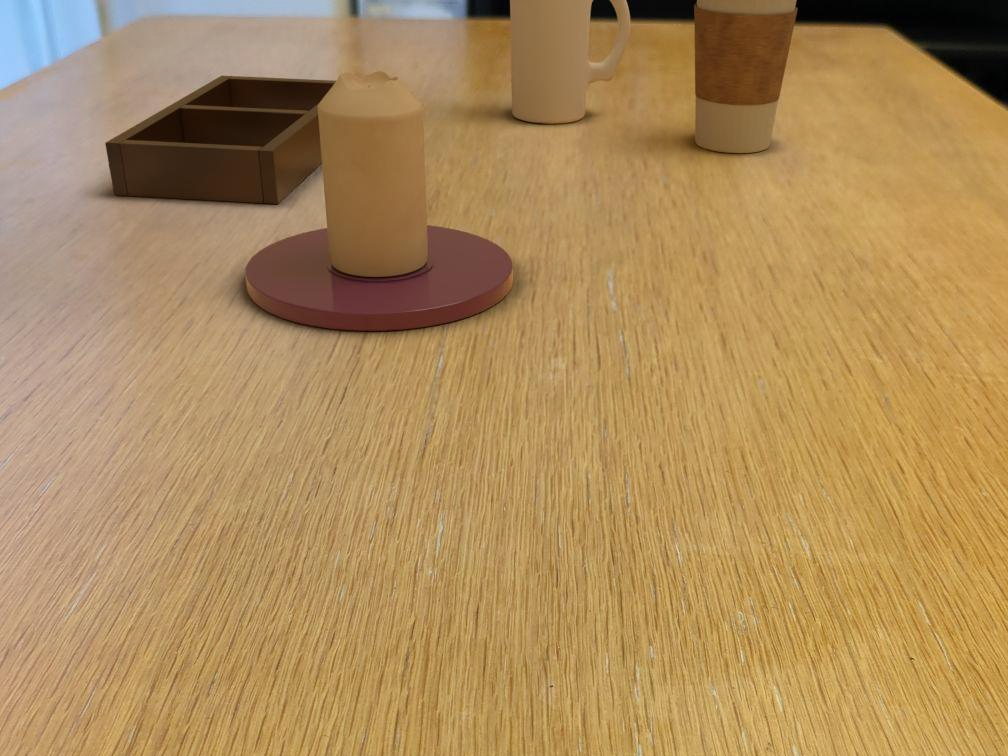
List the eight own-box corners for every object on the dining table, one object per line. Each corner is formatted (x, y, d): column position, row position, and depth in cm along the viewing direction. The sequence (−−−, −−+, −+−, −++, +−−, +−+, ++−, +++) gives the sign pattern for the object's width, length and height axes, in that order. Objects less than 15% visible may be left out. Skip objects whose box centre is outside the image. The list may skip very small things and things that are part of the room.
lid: (207, 321, 63) (204, 301, 63) (293, 232, 76) (291, 214, 75) (489, 340, 62) (489, 319, 61) (529, 245, 74) (529, 228, 74)
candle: (312, 271, 67) (295, 81, 61) (356, 241, 71) (344, 61, 66) (404, 283, 65) (395, 90, 60) (443, 252, 70) (437, 70, 64)
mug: (511, 125, 100) (512, -34, 94) (506, 106, 106) (506, -45, 100) (631, 124, 101) (640, -33, 95) (619, 106, 107) (627, -44, 100)
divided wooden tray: (113, 195, 82) (104, 142, 80) (226, 119, 100) (221, 75, 99) (278, 204, 81) (272, 151, 79) (361, 126, 99) (358, 81, 97)
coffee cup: (760, 163, 91) (785, -57, 83) (661, 146, 95) (675, -66, 87) (801, 140, 97) (828, -67, 89) (706, 126, 101) (723, -75, 93)
